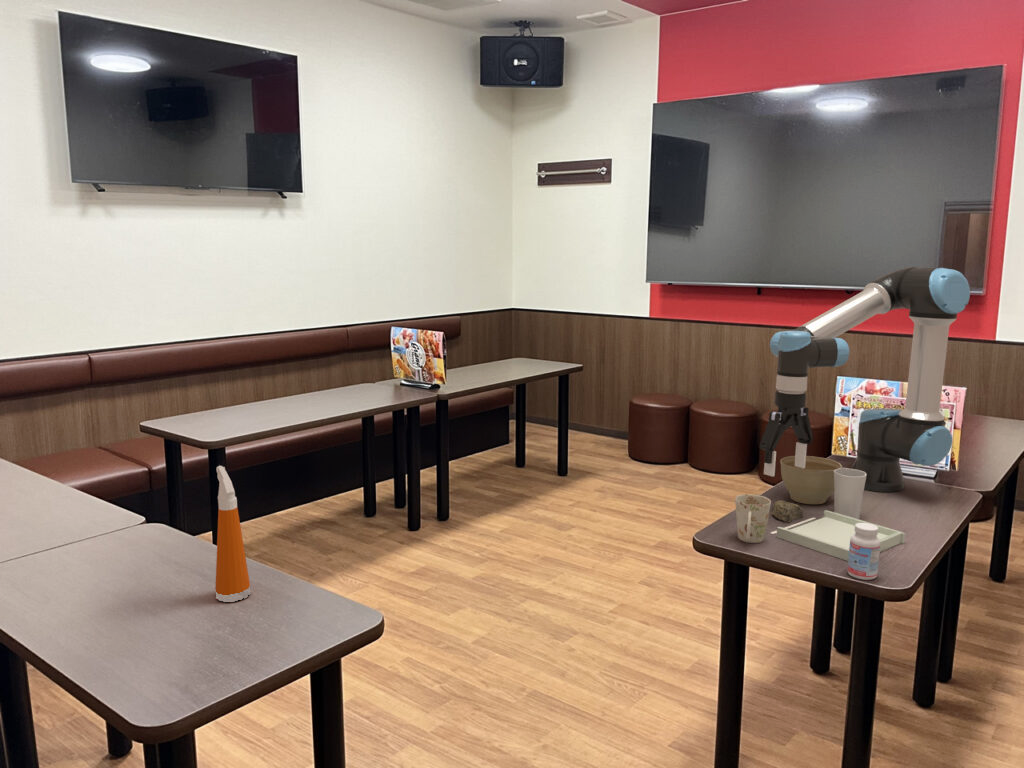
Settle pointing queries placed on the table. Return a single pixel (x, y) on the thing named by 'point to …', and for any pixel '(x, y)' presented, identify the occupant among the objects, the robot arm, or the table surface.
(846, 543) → the white square tray
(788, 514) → the rock
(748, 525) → the mug
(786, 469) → the planter bowl
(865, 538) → the pill bottle
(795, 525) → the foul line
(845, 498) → the cup
